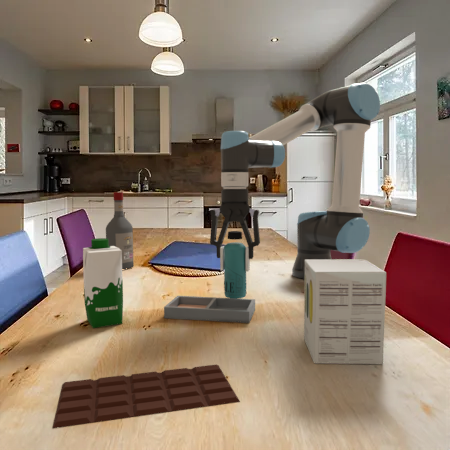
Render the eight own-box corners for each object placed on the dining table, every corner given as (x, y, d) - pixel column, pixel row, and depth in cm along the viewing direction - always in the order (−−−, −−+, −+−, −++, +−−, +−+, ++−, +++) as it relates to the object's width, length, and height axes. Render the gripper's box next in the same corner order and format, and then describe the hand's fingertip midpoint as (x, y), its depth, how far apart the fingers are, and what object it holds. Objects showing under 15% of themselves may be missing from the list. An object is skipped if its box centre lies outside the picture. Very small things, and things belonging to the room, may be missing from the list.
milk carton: (118, 314, 111) (115, 237, 109) (127, 324, 103) (125, 241, 101) (82, 319, 107) (79, 239, 105) (89, 330, 99) (86, 244, 97)
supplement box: (302, 338, 93) (303, 258, 92) (364, 339, 93) (366, 258, 91) (313, 364, 80) (314, 271, 78) (384, 365, 80) (388, 271, 78)
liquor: (137, 267, 173) (135, 192, 170) (120, 271, 165) (117, 192, 162) (120, 265, 178) (118, 191, 175) (103, 268, 170) (101, 192, 167)
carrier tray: (255, 309, 114) (255, 299, 114) (249, 323, 103) (249, 311, 103) (177, 305, 119) (177, 295, 118) (164, 318, 108) (163, 307, 107)
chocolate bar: (52, 431, 60) (52, 424, 60) (62, 386, 73) (62, 381, 72) (239, 404, 67) (239, 398, 66) (218, 368, 80) (218, 363, 79)
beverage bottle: (249, 298, 125) (249, 230, 123) (242, 305, 119) (242, 232, 117) (228, 297, 127) (227, 229, 125) (220, 302, 121) (220, 231, 119)
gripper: (197, 188, 118) (198, 271, 120) (268, 188, 114) (268, 274, 116) (204, 188, 125) (204, 266, 128) (271, 187, 122) (270, 268, 124)
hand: (235, 269), depth 122 cm, fingers closed on beverage bottle, 6 cm apart
